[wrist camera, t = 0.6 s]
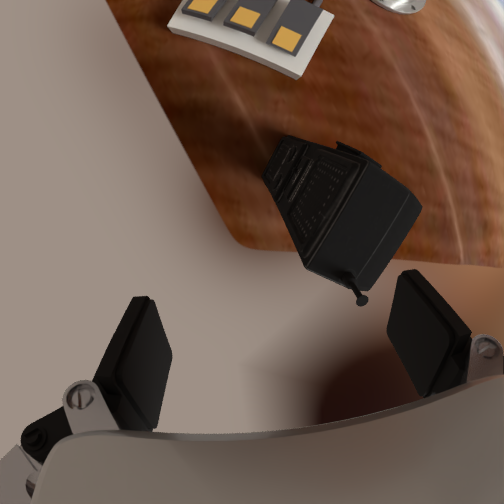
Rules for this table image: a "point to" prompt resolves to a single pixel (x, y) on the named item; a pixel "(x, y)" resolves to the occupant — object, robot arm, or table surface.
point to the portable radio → (340, 210)
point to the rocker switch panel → (249, 44)
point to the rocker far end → (203, 8)
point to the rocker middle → (248, 15)
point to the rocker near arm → (294, 26)
